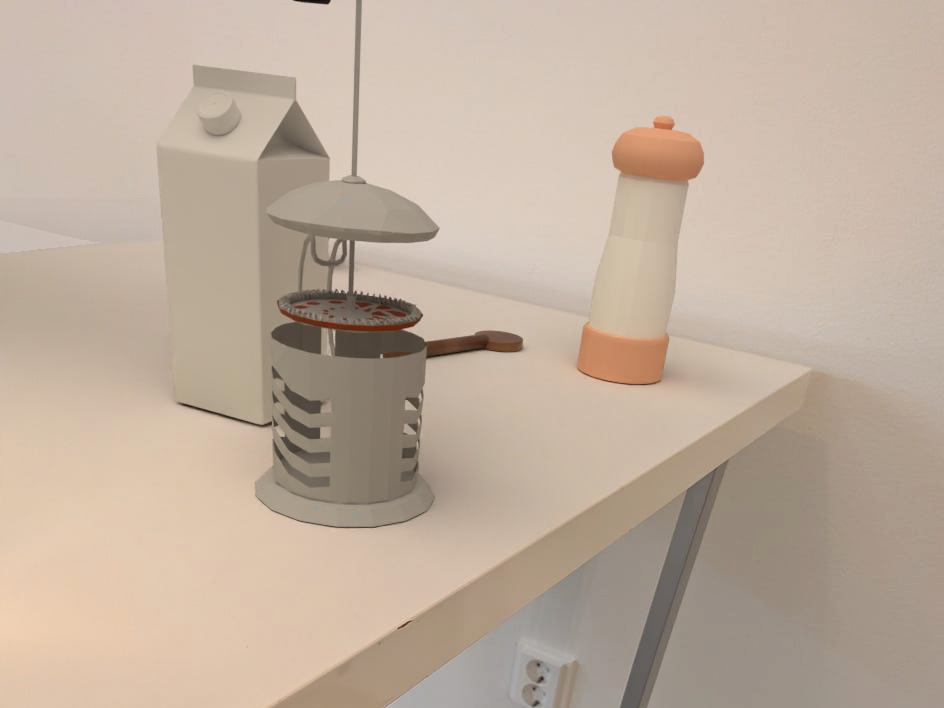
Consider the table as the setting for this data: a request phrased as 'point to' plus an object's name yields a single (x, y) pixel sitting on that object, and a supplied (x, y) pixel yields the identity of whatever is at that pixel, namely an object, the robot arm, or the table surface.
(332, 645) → the table surface
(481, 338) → the wooden spoon
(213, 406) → the milk carton
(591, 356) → the pepper shaker
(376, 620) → the table surface
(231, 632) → the table surface
